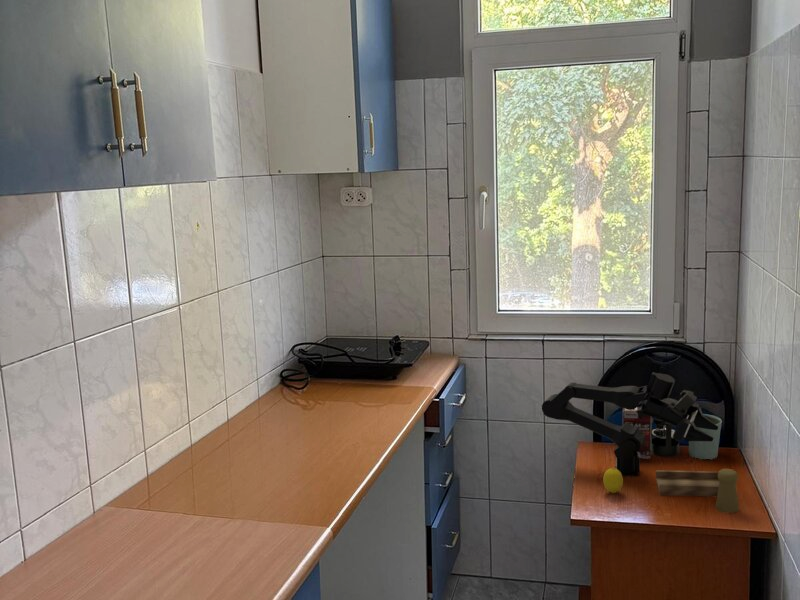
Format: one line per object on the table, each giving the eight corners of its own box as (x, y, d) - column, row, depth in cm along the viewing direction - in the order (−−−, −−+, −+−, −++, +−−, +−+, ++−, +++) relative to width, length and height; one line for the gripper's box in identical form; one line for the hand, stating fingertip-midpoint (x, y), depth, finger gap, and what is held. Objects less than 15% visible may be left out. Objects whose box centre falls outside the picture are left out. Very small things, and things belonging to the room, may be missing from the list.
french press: (684, 457, 253) (685, 388, 249) (654, 458, 254) (654, 389, 249) (672, 443, 265) (673, 377, 260) (644, 444, 265) (644, 378, 261)
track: (659, 494, 229) (659, 485, 228) (655, 479, 239) (655, 470, 238) (733, 497, 225) (733, 487, 224) (726, 481, 235) (726, 471, 234)
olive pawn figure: (741, 513, 216) (742, 475, 213) (717, 512, 217) (718, 475, 215) (736, 503, 221) (737, 466, 219) (713, 502, 223) (714, 465, 220)
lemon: (623, 490, 234) (623, 464, 232) (622, 498, 228) (622, 472, 227) (604, 488, 235) (603, 463, 234) (602, 496, 230) (602, 470, 229)
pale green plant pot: (684, 448, 260) (684, 413, 258) (716, 448, 259) (717, 413, 256) (691, 461, 250) (691, 425, 248) (724, 461, 249) (725, 424, 246)
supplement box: (622, 458, 256) (622, 411, 252) (622, 452, 260) (622, 406, 257) (651, 459, 254) (651, 411, 250) (649, 453, 258) (649, 406, 255)
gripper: (666, 397, 225) (721, 421, 219) (678, 378, 241) (730, 399, 235) (652, 430, 229) (706, 454, 223) (665, 409, 245) (716, 431, 239)
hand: (715, 434), depth 230 cm, fingers open, 9 cm apart
